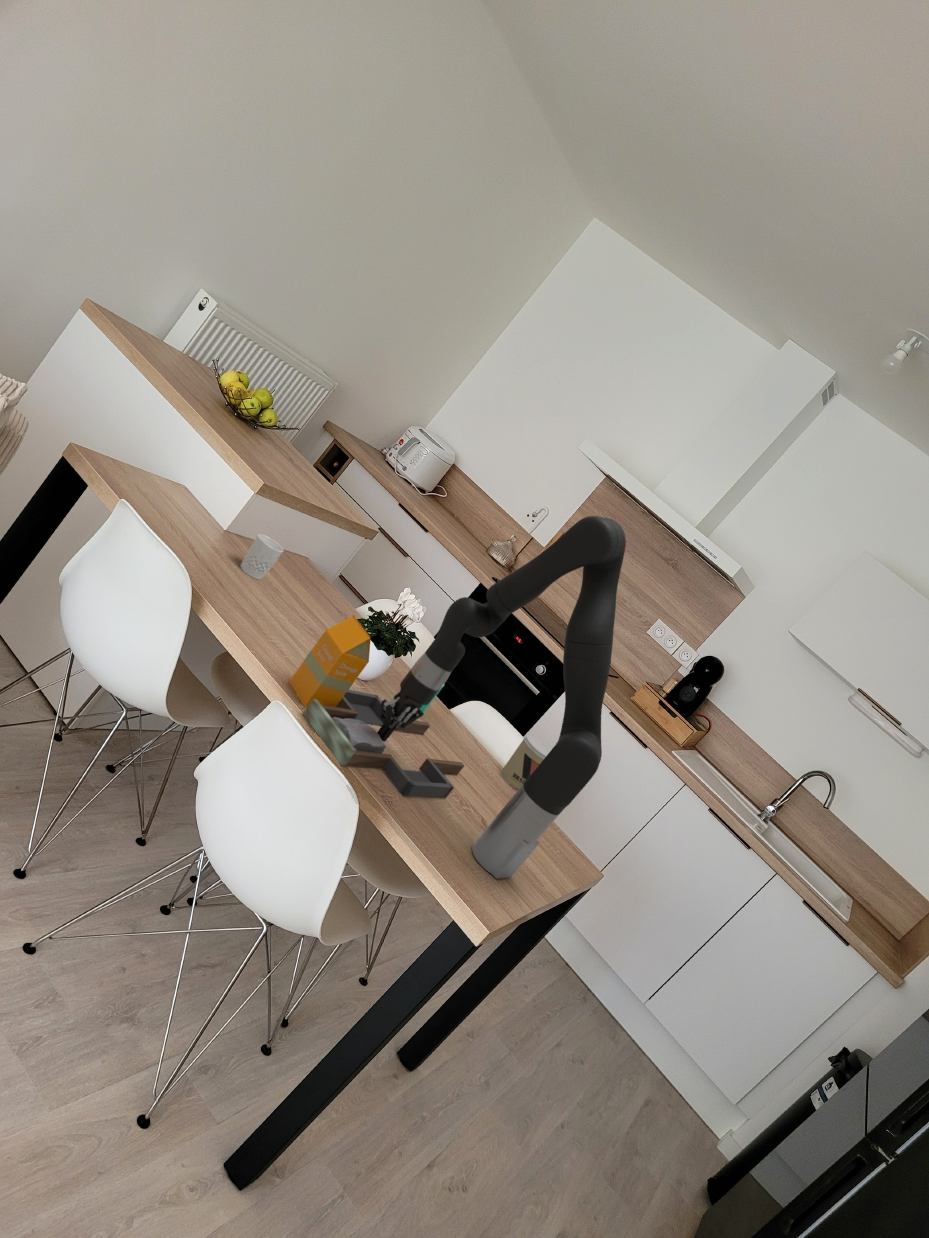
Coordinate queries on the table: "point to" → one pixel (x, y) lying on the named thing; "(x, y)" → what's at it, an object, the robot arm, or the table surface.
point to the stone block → (360, 735)
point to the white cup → (261, 556)
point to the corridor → (344, 749)
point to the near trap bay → (418, 780)
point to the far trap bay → (363, 706)
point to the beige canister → (524, 761)
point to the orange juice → (333, 664)
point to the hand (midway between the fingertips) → (380, 738)
